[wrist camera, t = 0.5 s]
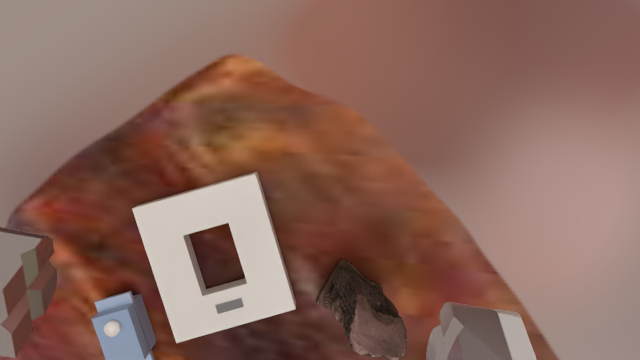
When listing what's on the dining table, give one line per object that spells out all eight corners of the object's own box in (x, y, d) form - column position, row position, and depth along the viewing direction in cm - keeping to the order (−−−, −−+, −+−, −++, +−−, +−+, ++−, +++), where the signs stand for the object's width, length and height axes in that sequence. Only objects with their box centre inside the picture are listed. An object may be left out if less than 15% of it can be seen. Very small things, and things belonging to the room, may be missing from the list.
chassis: (295, 301, 63) (295, 309, 61) (181, 334, 63) (176, 343, 61) (257, 171, 61) (255, 173, 59) (138, 204, 61) (131, 208, 59)
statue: (314, 301, 63) (321, 386, 44) (338, 247, 63) (356, 307, 43) (367, 322, 64) (398, 415, 44) (391, 268, 63) (434, 338, 44)
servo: (160, 350, 64) (146, 373, 58) (127, 359, 64) (110, 383, 58) (137, 283, 63) (121, 300, 57) (104, 293, 62) (84, 311, 57)
